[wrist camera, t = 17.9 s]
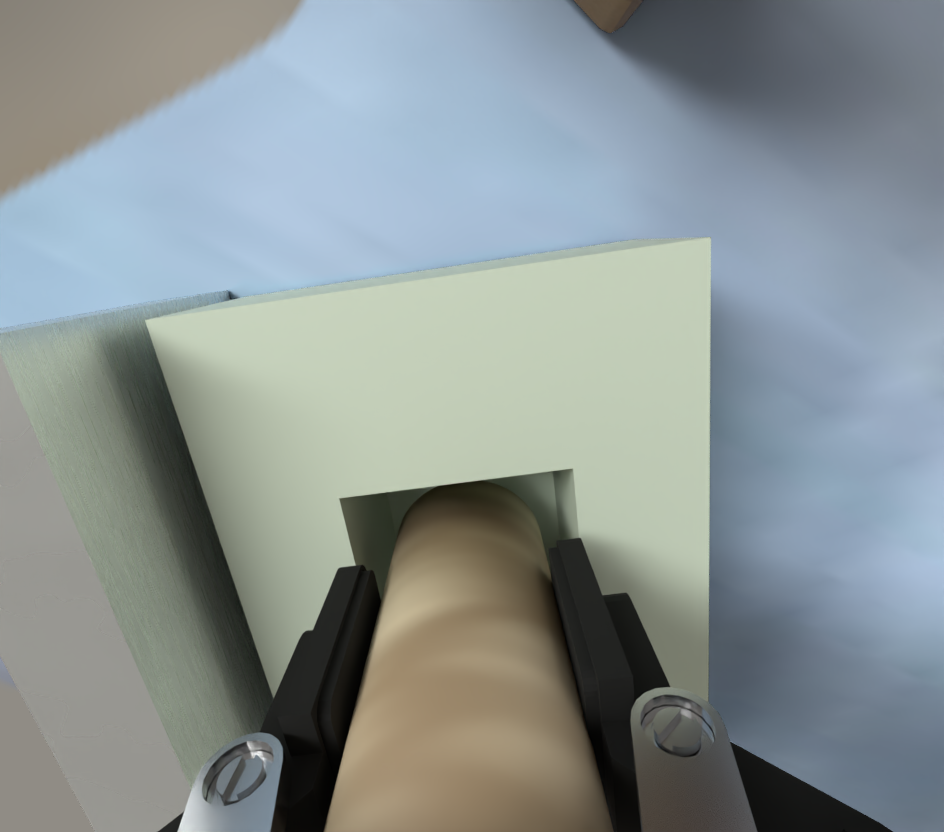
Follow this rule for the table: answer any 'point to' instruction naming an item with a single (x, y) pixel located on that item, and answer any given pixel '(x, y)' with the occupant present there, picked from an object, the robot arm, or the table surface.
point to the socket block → (460, 425)
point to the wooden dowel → (468, 684)
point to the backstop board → (116, 569)
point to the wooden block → (609, 12)
